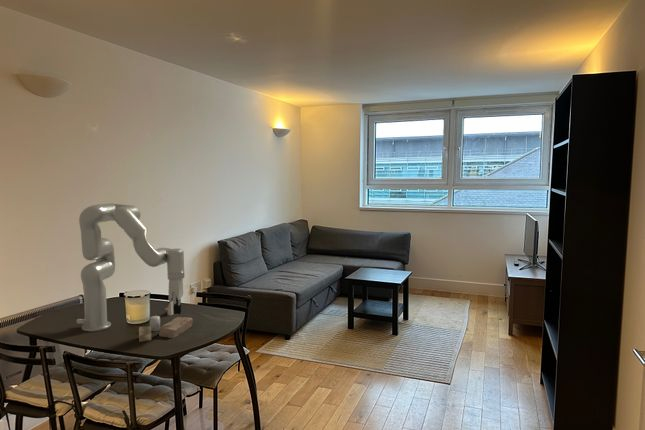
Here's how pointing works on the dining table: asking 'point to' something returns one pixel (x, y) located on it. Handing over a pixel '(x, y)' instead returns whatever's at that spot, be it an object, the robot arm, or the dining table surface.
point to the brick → (175, 327)
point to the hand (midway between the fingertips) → (177, 313)
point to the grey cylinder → (155, 323)
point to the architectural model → (170, 308)
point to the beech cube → (145, 333)
